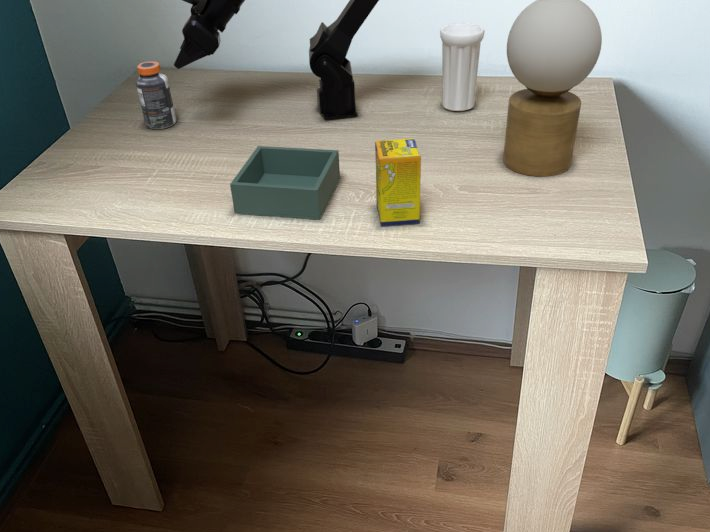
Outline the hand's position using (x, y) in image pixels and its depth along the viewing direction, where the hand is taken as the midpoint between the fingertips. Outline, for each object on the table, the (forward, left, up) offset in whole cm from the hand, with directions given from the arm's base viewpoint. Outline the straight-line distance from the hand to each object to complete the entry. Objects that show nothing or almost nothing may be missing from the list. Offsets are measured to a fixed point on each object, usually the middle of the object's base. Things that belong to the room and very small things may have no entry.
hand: (179, 58), depth 133 cm
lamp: (-57, +33, -12) cm, 67 cm away
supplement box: (-29, +46, -12) cm, 56 cm away
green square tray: (-14, +35, -12) cm, 40 cm away
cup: (-51, +8, -12) cm, 53 cm away
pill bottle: (+6, -1, -12) cm, 14 cm away
